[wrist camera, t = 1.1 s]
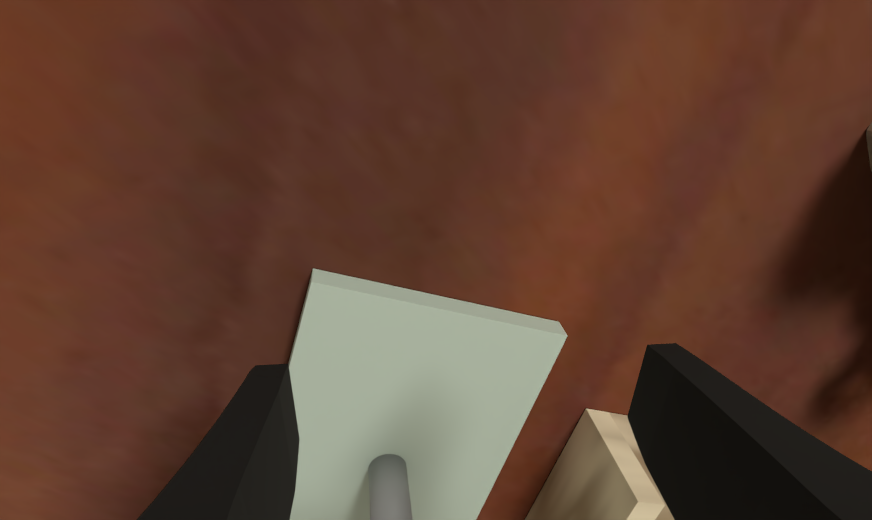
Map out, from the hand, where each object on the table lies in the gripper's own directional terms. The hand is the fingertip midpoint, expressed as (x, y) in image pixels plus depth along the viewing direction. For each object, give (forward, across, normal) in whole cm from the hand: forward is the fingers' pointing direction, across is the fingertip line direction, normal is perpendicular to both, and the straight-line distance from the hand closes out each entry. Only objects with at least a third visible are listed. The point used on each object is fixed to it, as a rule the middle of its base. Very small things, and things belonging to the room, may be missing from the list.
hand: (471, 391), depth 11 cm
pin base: (+8, +2, +11) cm, 14 cm away
